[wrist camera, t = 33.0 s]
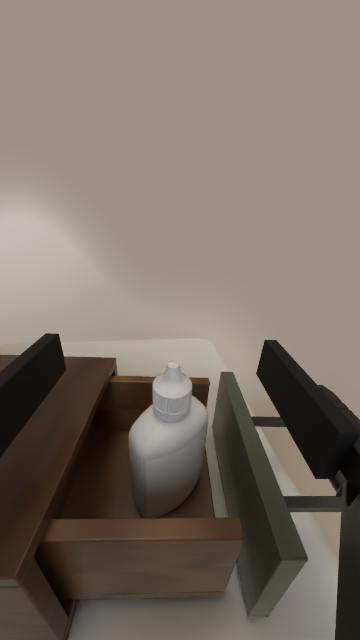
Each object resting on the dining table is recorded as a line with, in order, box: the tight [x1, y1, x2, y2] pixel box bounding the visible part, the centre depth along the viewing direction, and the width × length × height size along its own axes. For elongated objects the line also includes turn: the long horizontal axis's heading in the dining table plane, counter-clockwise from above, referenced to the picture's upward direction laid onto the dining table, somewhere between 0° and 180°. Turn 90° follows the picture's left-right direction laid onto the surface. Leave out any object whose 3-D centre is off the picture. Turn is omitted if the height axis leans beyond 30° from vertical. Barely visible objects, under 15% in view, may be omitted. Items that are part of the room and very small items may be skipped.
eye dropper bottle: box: [128, 361, 208, 518], centre depth 14 cm, size 4×6×12 cm
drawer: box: [33, 372, 345, 617], centre depth 16 cm, size 21×12×8 cm, turn 91°
